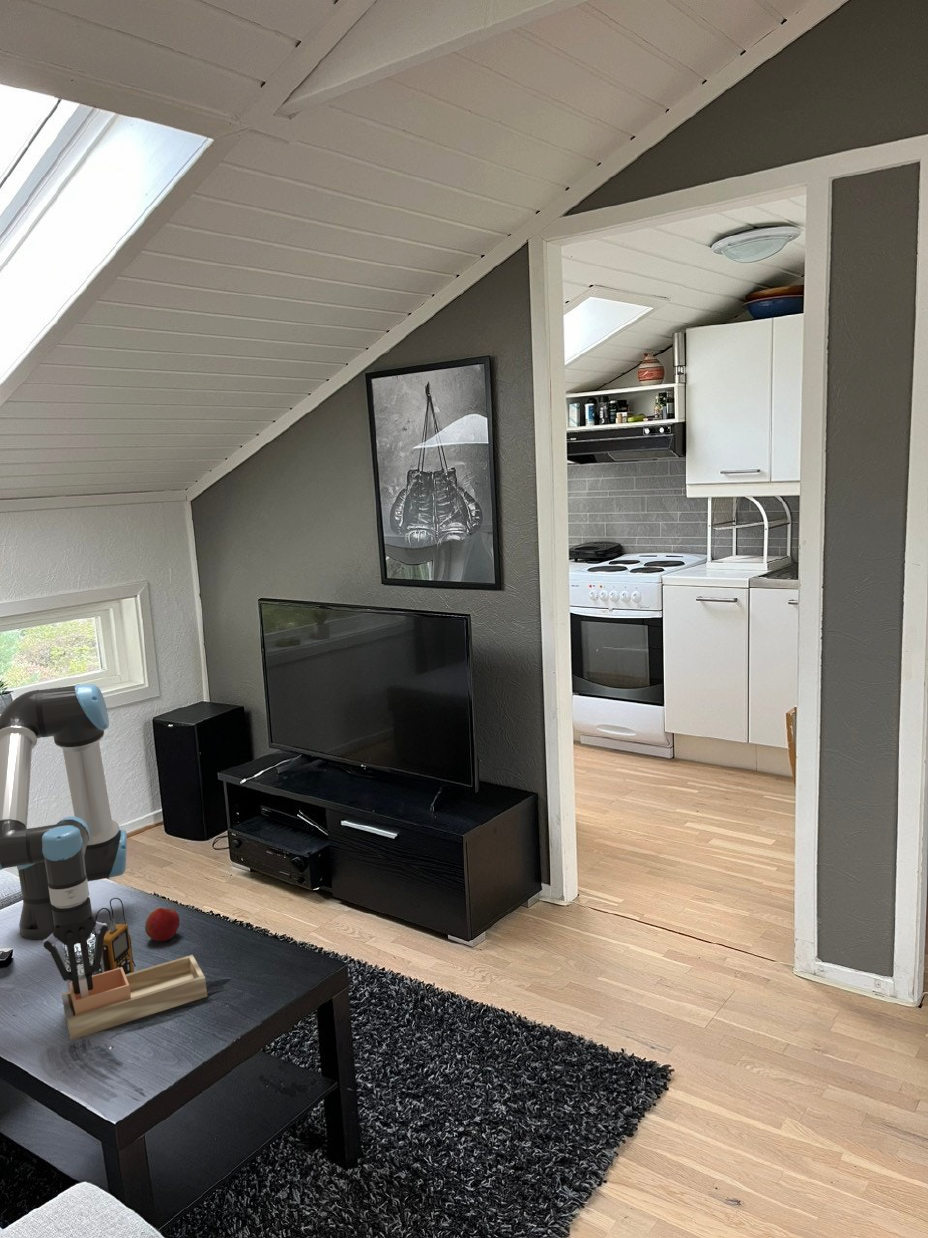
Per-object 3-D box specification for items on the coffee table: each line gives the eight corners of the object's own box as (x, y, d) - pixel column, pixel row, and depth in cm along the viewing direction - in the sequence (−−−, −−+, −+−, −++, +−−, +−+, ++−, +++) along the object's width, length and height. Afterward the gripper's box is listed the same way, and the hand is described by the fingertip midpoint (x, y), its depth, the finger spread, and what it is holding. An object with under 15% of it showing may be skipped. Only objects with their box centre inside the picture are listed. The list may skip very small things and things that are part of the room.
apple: (179, 944, 234) (175, 913, 233) (144, 948, 233) (140, 918, 231) (183, 929, 241) (179, 900, 240) (150, 934, 240) (146, 904, 239)
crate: (72, 1008, 206) (68, 982, 205) (125, 992, 211) (122, 967, 210) (77, 1028, 198) (73, 1002, 197) (132, 1011, 203) (129, 985, 202)
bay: (64, 1012, 207) (61, 993, 206) (194, 972, 220) (192, 954, 219) (71, 1040, 196) (68, 1020, 196) (207, 996, 209) (205, 977, 208)
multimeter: (137, 1005, 209) (125, 919, 205) (96, 1002, 211) (84, 917, 208) (171, 969, 223) (161, 889, 220) (133, 967, 225) (122, 887, 222)
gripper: (38, 916, 193) (54, 1024, 197) (106, 899, 199) (120, 1003, 203) (35, 903, 199) (51, 1007, 203) (100, 886, 205) (115, 987, 209)
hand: (85, 1005), depth 203 cm, fingers closed
